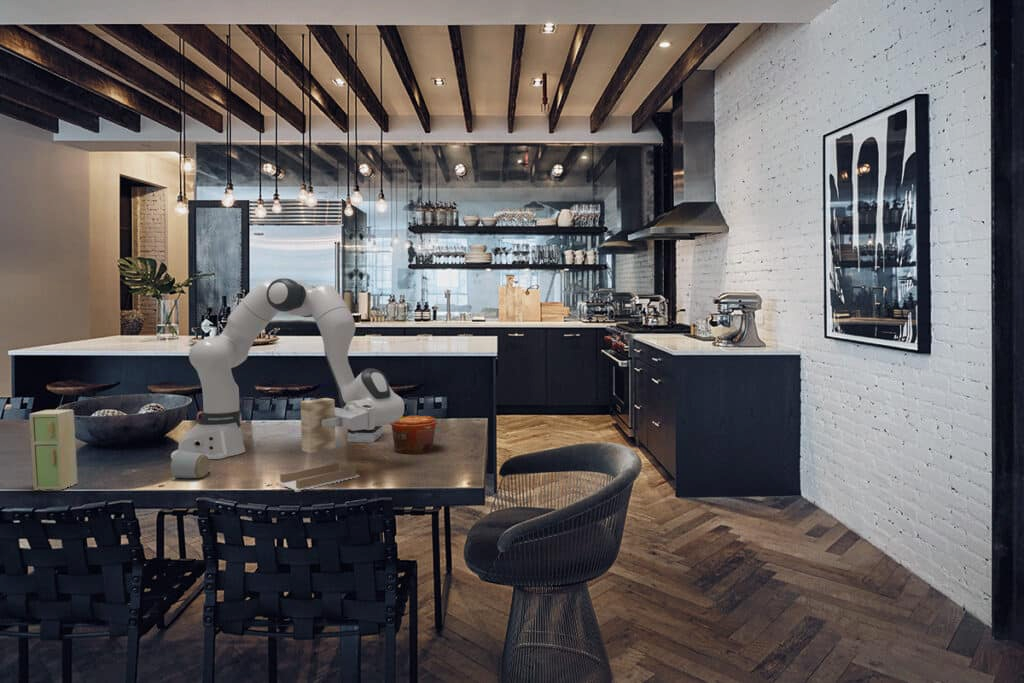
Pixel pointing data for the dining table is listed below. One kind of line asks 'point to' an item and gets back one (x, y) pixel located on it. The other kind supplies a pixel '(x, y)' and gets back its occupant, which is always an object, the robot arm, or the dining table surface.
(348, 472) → the track
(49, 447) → the toy refrigerator
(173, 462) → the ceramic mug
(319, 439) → the wooden block
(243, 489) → the dining table surface
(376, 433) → the tea box
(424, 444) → the food container
